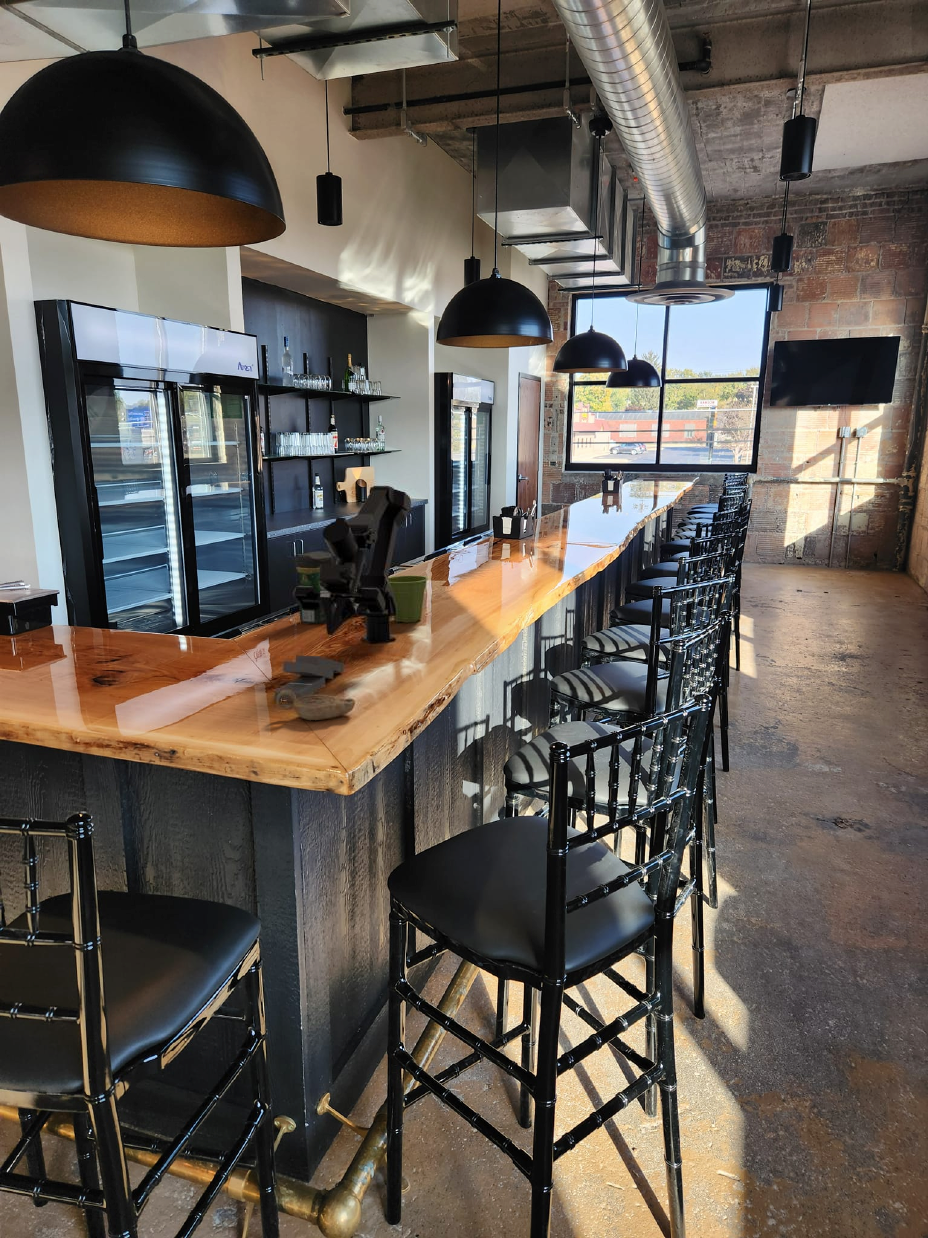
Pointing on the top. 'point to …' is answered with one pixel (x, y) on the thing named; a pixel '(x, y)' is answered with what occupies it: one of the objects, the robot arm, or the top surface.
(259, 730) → the top surface
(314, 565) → the coffee jar
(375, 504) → the robot arm
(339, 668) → the domino
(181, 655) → the top surface
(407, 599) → the plant pot
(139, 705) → the top surface
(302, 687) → the domino
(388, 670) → the top surface
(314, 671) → the domino
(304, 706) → the oil lamp
